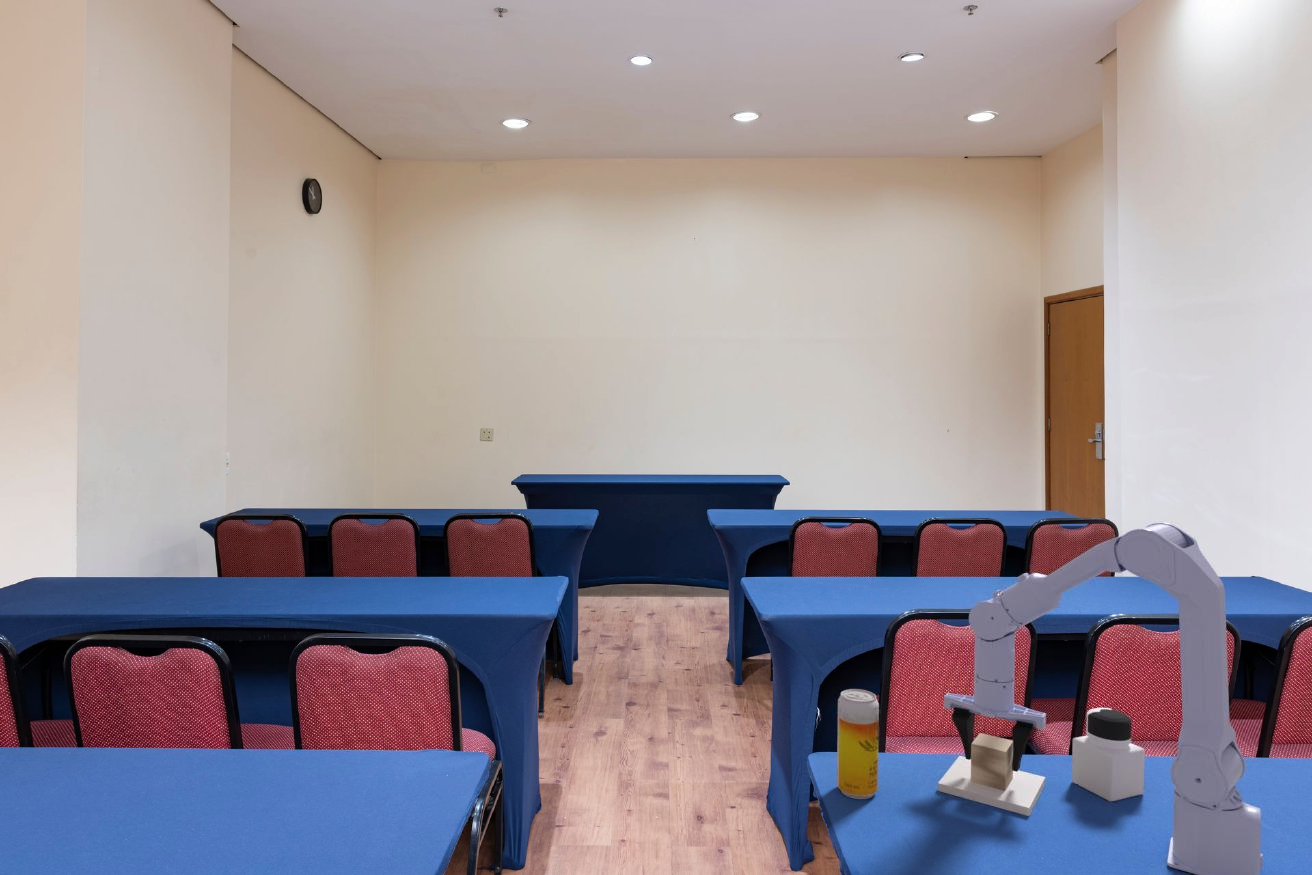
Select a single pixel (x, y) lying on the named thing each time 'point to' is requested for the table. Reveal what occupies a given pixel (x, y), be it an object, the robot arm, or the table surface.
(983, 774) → the maple block
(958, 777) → the white board
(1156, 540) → the robot arm
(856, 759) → the beer can
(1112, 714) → the medicine bottle
